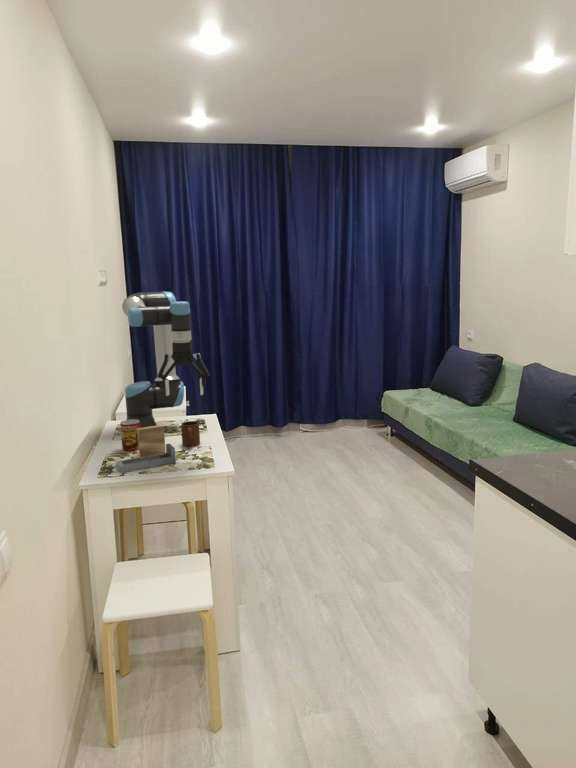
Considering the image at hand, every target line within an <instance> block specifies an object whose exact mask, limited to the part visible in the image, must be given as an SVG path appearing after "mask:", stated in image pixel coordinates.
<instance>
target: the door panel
mask: <svg viewBox="0 0 576 768" xmlns="http://www.w3.org/2000/svg"><path fill="white" fill-rule="evenodd" d="M137 434H138V447H139V451H138V457H144V456H150V455H156V454H162V453H166V441H165V426H164V425H163V424H158V425H157V426H151V427H144V428H137Z"/></svg>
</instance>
